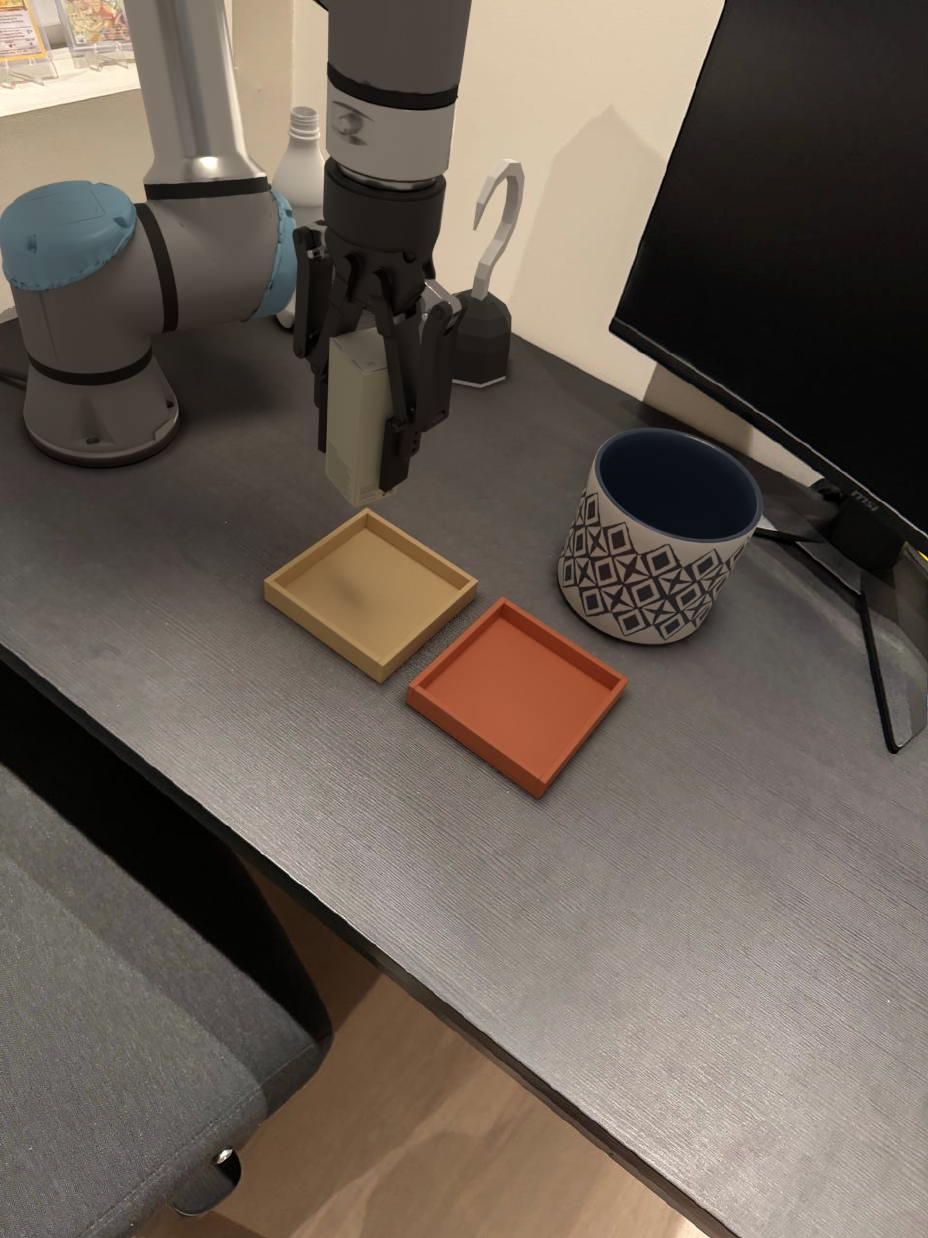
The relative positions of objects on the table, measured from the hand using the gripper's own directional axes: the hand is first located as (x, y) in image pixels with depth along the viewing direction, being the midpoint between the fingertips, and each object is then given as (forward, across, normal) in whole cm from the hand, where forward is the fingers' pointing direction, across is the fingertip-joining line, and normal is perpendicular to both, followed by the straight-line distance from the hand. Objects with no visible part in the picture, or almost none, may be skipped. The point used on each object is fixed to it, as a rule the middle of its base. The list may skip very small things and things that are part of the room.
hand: (362, 463), depth 68 cm
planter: (+16, +20, +21) cm, 33 cm away
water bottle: (+16, -36, +31) cm, 50 cm away
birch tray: (+16, +2, +1) cm, 16 cm away
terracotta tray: (+16, +19, +1) cm, 25 cm away
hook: (+16, -17, +41) cm, 47 cm away
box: (+2, 0, 0) cm, 2 cm away
